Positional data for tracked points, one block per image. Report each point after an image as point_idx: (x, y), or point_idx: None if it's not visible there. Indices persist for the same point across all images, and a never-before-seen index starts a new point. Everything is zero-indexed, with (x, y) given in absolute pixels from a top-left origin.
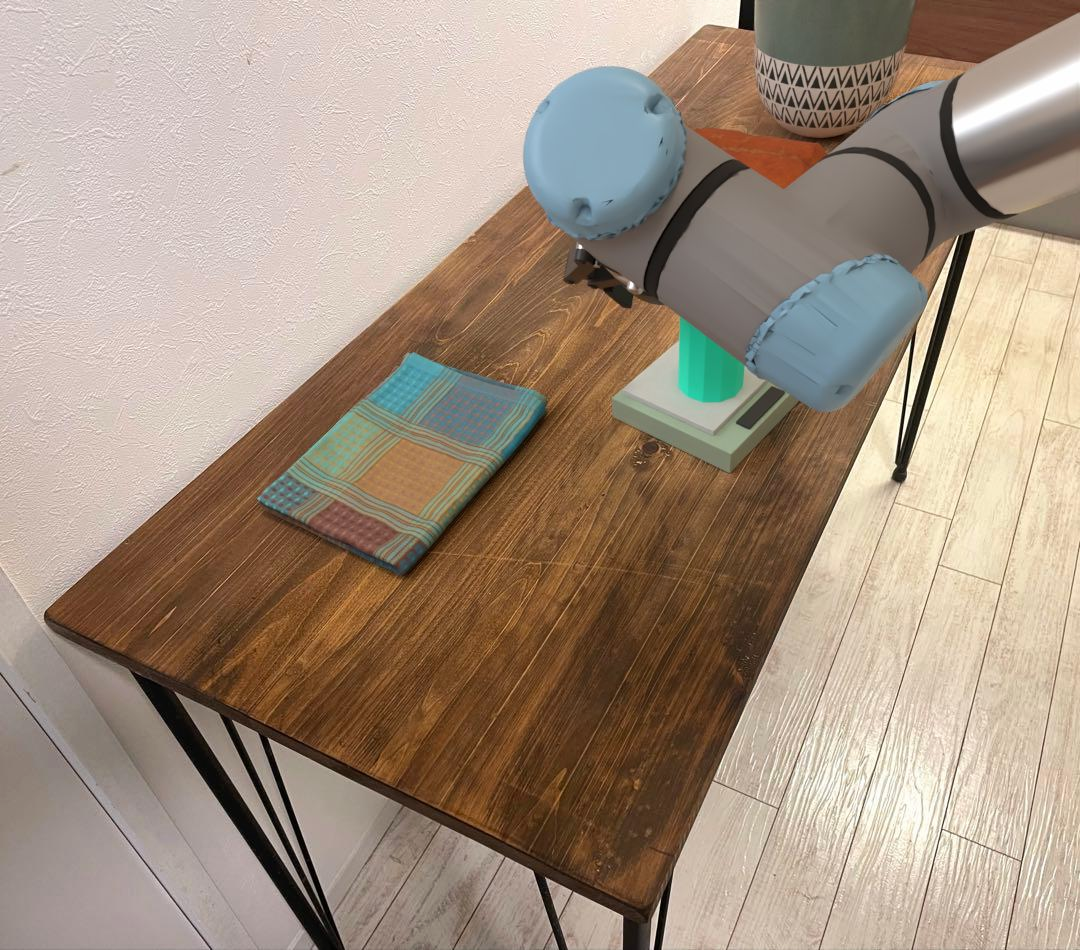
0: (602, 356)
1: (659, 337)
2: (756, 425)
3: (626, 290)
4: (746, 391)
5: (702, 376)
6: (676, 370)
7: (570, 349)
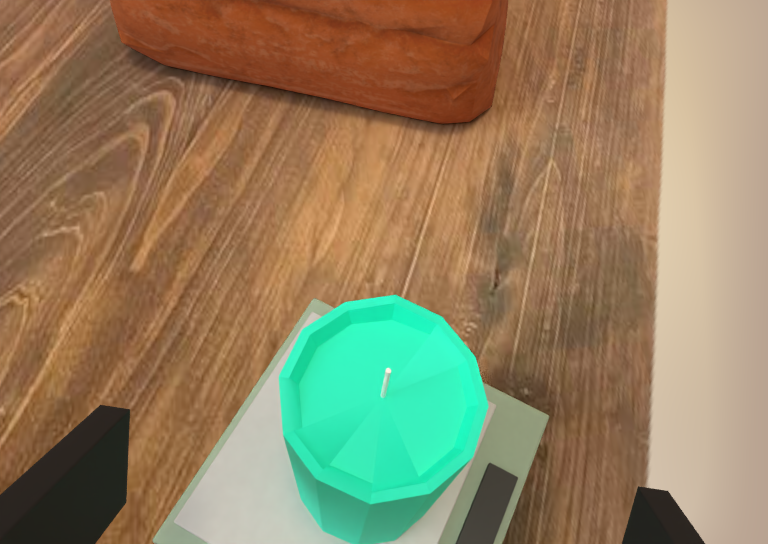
0: (145, 353)
1: (256, 291)
2: None
3: (72, 535)
4: (444, 495)
5: (356, 536)
6: None
7: (80, 338)
